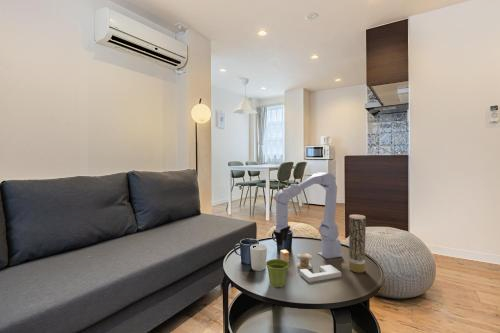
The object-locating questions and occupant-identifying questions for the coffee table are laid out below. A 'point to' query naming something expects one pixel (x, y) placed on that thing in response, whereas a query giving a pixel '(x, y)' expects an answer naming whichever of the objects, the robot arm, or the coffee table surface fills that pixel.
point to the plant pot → (277, 272)
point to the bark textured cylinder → (357, 243)
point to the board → (325, 273)
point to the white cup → (258, 257)
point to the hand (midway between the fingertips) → (282, 242)
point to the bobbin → (304, 261)
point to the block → (284, 255)
